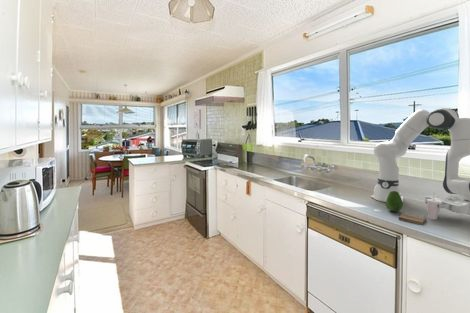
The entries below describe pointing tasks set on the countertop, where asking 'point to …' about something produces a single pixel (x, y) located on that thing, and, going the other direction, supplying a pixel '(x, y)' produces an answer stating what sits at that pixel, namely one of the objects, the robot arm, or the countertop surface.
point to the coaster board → (412, 218)
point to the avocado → (394, 201)
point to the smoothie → (433, 207)
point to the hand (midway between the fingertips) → (432, 204)
